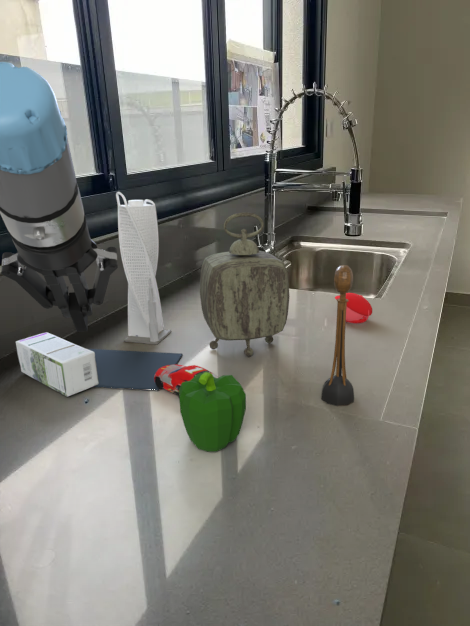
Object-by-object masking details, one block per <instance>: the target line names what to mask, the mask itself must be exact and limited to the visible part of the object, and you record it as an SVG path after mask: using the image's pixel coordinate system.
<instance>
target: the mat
mask: <svg viewBox="0 0 470 626" xmlns="http://www.w3.org/2000/svg"><path fill="white" fill-rule="evenodd" d="M87 349H88V350H91V351H93V352H94V353H95V361H96V367H97V375H98V382H99V384H98V385H95V386H93V387H92V388H101V387H104V389H117V388H131V389H130V390H132V388H133V389H151V390H152V389H153V390H154V389H155V390H159V388H158V387H157V386H156V383H155V381H154V376H155V373H156V372H157V371H158V369H159V368H161V367H163V366H167V365H178V364H179V362H180V360H181V359H182V357H183V353H179V352H161V351H159V352H158V351H141V350H140V351H139V350H121V349H104V348H103V349H102V348H87ZM105 387H106V388H105ZM111 387H112V388H111ZM159 391H160V390H159Z"/></svg>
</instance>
